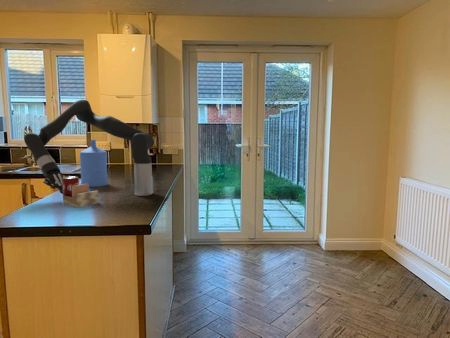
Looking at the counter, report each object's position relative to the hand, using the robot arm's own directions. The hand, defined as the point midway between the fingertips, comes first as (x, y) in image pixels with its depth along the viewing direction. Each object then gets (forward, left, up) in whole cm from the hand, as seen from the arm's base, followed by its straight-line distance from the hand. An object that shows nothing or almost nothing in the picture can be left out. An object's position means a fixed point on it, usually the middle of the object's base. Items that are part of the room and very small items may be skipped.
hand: (64, 193), depth 160 cm
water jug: (-37, -23, -4) cm, 44 cm away
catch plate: (-1, +11, -4) cm, 11 cm away
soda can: (-1, +4, -4) cm, 6 cm away
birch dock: (-1, +11, -4) cm, 11 cm away
